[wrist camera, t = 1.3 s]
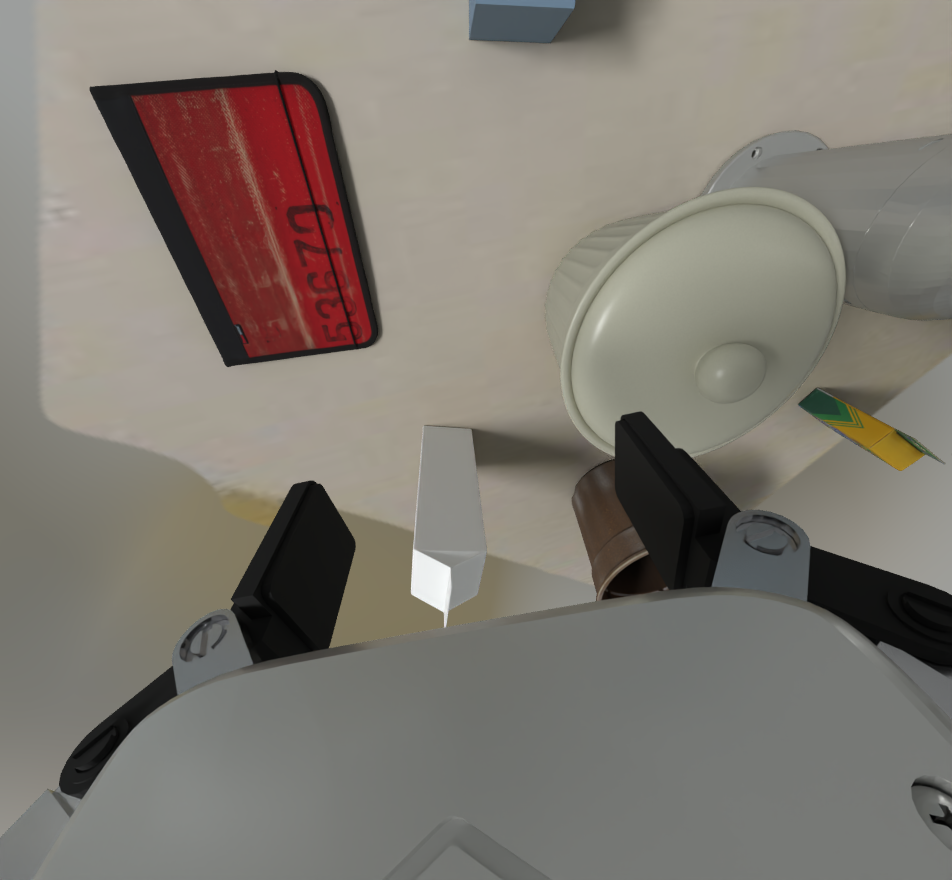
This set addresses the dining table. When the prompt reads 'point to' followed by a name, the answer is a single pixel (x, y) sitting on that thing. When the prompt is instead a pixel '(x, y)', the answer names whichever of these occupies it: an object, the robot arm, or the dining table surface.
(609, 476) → the plant pot
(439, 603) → the milk
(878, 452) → the crayon box
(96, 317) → the dining table surface
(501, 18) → the block
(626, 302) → the canister
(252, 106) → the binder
